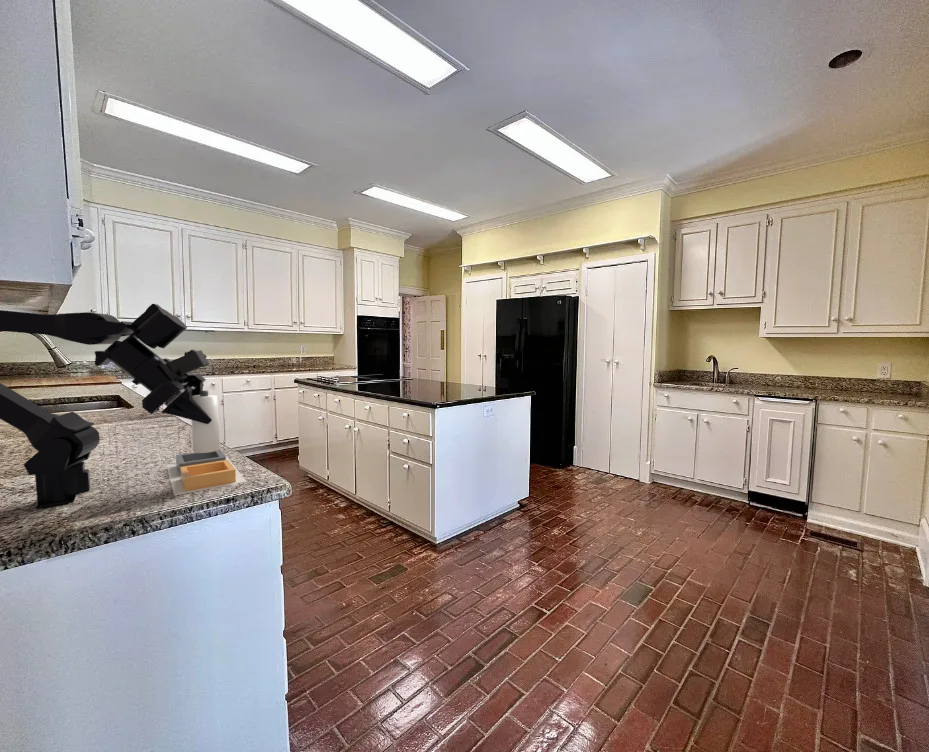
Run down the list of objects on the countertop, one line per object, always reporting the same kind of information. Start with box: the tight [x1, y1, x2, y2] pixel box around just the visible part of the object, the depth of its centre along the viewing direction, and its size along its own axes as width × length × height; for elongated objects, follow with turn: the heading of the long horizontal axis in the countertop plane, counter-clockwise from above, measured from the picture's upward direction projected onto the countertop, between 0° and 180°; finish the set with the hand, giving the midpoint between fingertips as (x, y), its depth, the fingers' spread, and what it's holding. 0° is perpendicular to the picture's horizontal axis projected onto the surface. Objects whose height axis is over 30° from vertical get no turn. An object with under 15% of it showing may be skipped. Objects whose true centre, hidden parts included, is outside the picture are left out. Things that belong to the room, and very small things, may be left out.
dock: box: [166, 448, 247, 496], centre depth 88 cm, size 12×22×4 cm, turn 39°
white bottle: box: [191, 390, 221, 453], centre depth 82 cm, size 5×5×12 cm
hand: (213, 419), depth 83 cm, fingers closed on white bottle, 5 cm apart
